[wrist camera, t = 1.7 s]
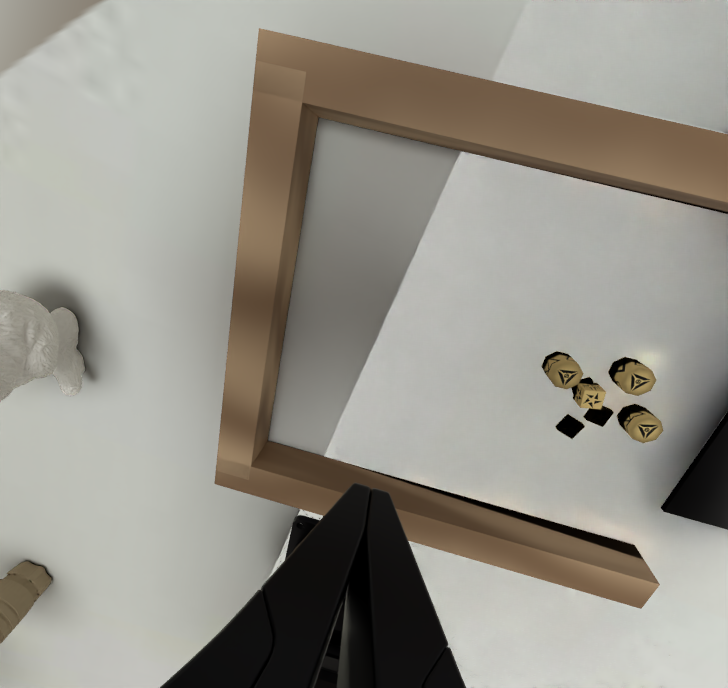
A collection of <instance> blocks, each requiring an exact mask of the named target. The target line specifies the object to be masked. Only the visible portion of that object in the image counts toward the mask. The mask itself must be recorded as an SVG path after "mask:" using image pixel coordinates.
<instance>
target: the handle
mask: <svg viewBox="0 0 728 688" xmlns="http://www.w3.org/2000/svg"><path fill="white" fill-rule="evenodd" d="M7 574H8V575H7V576H6V577H5V578H4V579H0V643H2V642H3V641H4V639H5V638H6V637H7V636H8V634H10V633H11V632H12V630H13V629H14V628H15V627H16V625H18V624H19V622H20V621H21V620H22V619H23V618H24V616H25V615H26V614H27V613H28V611H29V610H30V609H31V607H32V606H33V604H34V602H35V601H36V600H37V599H38V598H39V596H40V595H41V594H42V593H43V592H44V591H45V590H46V589H47V587H48V586H49V585H50V583H51V577H50V576H48V575H47V573H46V572H45V569H44V568H43V567H42V566H36V565H33V564H32V563H30V562H22V563H20V564H19V565H17V566H16V567H14V568H13V569H12V570H11V571H9V572H8V573H7Z"/></svg>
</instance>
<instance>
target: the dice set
mask: <svg viewBox="0 0 728 688" xmlns="http://www.w3.org/2000/svg"><path fill="white" fill-rule="evenodd" d="M542 368H543V370H544V372H545V373H546V375H547V377H548V378H549V379H550V380H551V382H552V383H553V384H554V386H555V387H559V388H564V389H569V388H572V392H573V399H574V400H575V402H576V403H577V404H578V405H579V407H580V408H589V409H588V411H587V412H586V413H585V415H584V416H583V417H584V418H585V419H586V420H587V421H590V422H592V423H595V424H597V425H599V426H602V427H603V426H604V425H605V424H606V422H607V421H608V420H609V418H610V417H611V416H612V414H613V413H614V412H613V411H612V410H611V409H609V408H607V407H605V406H602V404H603V401H604V397H605V394H606V391H605V390H604V389H603V388H602V387H601V386H600V385H599V384H598V383H593V380H592V379H591V378H590V377H587V378H584V379H581V378H582V376H583V372H582V370H581V368H580V366H579V364H578V363H577V362H576V361H575V360H574V359H573V358H572V357H571V356H570V355H569V354H566V353H562V352H558V351H556V352H554V353H552V354H550V355H548V356H546V357H545V359H544V362H543V364H542ZM608 373H609V375H610V377H611V379H612V381H613V382H614V383H615V384H616V385H617V386H618V387H620V388H621V389H622V390H623V391H624V392H625V393H628V394H632V395H636V396H639V395H641V394H644V393H646V392H649V391H651V389H652V387H653V385H654V384H655V382H656V378H655V376H654V374H653V372H652V370H650V369H649V368H648V367H646V366H645V365H643V364H642V363H640V362H639V361H638V360H636V359H632V358H627V357H623V358H621V359H619V360H617V361H614V362H613V363H612V365H611V367H610V369H609V371H608ZM617 418H618V422H619V425H620V426H621V427H622V428H623V429H624V430H625V431H626V432H627V433H628V434H629V436H630V437H631V438H632V439H634V440H637V441H639V442H642V443H645V442H649V441H653V440H656V439H657V438H658V437H659V435H660V434H661V433H662V432H663V428H662V424H661V421H660V420H659V419H658V418H657V417H655V416H654V415H653V414H652V413H651V412H650V411H649V410H647V409H646V408H645V407H642V406H640V405H637V404H632V405H629V406H625V407H623V408H622V409H621V411H620V412H619V413H618V415H617ZM555 427H556V429H557V430H558V431H560V432H561V433H563V434H565V435H566V436H568V437H570V438H571V439H573V438H574V437H575V436H576V435H577V434H578V433H579V432H580V431H581V430H582V429H583V428H584V427H585V426H584V425H583V423H582V422H580V421H578V420H577V419H575V418H574V417H572V416H570V415H569V414H567V415H566V416H565V417H564V418H563V419H562V420H561V421H560V422H559V423H558V424H557V425H556V426H555Z"/></svg>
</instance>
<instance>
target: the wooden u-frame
mask: <svg viewBox="0 0 728 688" xmlns="http://www.w3.org/2000/svg"><path fill="white" fill-rule="evenodd" d="M318 117H320V118H324V119H328V120H333V121H337V122H341V123H345V124H350V125H354V126H358V127H362V128H366V129H371V130H375V131H379V132H383V133H388V134H392V135H396V136H400V137H404V138H409V139H413V140H417V141H421V142H426V143H430V144H434V145H438V146H442V147H447V148H451V149H455V150H459V151H464V152H468V153H472V154H476V155H480V156H485V157H489V158H493V159H497V160H502V161H506V162H510V163H514V164H518V165H523V166H527V167H531V168H535V169H540V170H544V171H548V172H552V173H556V174H561V175H565V176H569V177H573V178H578V179H582V180H586V181H590V182H594V183H599V184H603V185H607V186H611V187H615V188H620V189H624V190H628V191H632V192H637V193H641V194H645V195H649V196H653V197H658V198H662V199H666V200H670V201H675V202H679V203H683V204H687V205H691V206H696V207H700V208H704V209H708V210H713V211H717V212H721V213H725V214H728V134H724V133H719V132H715V131H711V130H706V129H702V128H697V127H693V126H688V125H684V124H680V123H675V122H671V121H666V120H662V119H657V118H653V117H649V116H644V115H640V114H635V113H631V112H627V111H622V110H618V109H613V108H609V107H604V106H600V105H596V104H591V103H587V102H582V101H578V100H574V99H569V98H565V97H560V96H556V95H551V94H547V93H543V92H538V91H534V90H529V89H525V88H521V87H516V86H512V85H507V84H503V83H498V82H494V81H490V80H485V79H481V78H476V77H472V76H467V75H463V74H459V73H454V72H450V71H445V70H441V69H437V68H432V67H428V66H423V65H419V64H414V63H410V62H406V61H401V60H397V59H392V58H388V57H384V56H379V55H375V54H370V53H366V52H361V51H357V50H353V49H348V48H344V47H339V46H335V45H331V44H326V43H322V42H317V41H313V40H308V39H304V38H300V37H295V36H291V35H286V34H282V33H278V32H273V31H269V30H264V29H260V28H259V34H258V44H257V54H256V65H255V75H254V85H253V95H252V106H251V116H250V126H249V136H248V147H247V157H246V167H245V177H244V188H243V198H242V208H241V218H240V229H239V239H238V249H237V260H236V270H235V280H234V290H233V301H232V311H231V321H230V331H229V342H228V352H227V362H226V372H225V383H224V393H223V403H222V413H221V424H220V434H219V444H218V455H217V465H216V475H215V484H217V485H220V486H224V487H227V488H231V489H234V490H237V491H241V492H244V493H248V494H251V495H255V496H258V497H261V498H265V499H268V500H272V501H275V502H278V503H282V504H285V505H289V506H292V507H296V508H299V509H302V510H306V511H309V512H313V513H316V514H319V515H323V516H325V514H326V513H327V512H328V511H329V510H330V509H331V508H332V507H333V505H334V504H335V503H336V502H337V501H338V500H339V499H340V497H341V496H342V495H343V494H344V493H345V492H346V491H347V490H348V488H349V487H350V486H351V485H352V484H353V483H359V484H362V485H366V486H369V487H370V489H372V488H376V489H380V490H383V491H387V492H388V493H389V494H390V496H391V498H392V501H393V504H394V506H395V509H396V511H397V514H398V516H399V519H400V521H401V524H402V527H403V529H404V532H405V534H406V537H407V539H408V541H412V542H415V543H419V544H422V545H425V546H429V547H432V548H436V549H439V550H442V551H446V552H449V553H453V554H456V555H460V556H463V557H466V558H470V559H473V560H477V561H480V562H483V563H487V564H490V565H494V566H497V567H501V568H504V569H507V570H511V571H514V572H518V573H521V574H524V575H528V576H531V577H535V578H538V579H542V580H545V581H548V582H552V583H555V584H559V585H562V586H565V587H569V588H572V589H576V590H579V591H583V592H586V593H589V594H593V595H596V596H600V597H603V598H606V599H610V600H613V601H617V602H620V603H624V604H627V605H630V606H634V607H637V608H642V607H643V606H644V604H645V603H646V602H647V601H648V599H649V598H650V597H651V595H652V594H653V593H654V591H655V590H656V589H657V588H658V586H659V585H660V584H659V583H658V581H657V579H656V578H655V576H654V575H653V573H652V572H651V570H650V568H649V567H648V565H647V564H646V562H645V561H644V559H643V558H642V556H641V554H640V553H639V551H638V550H637V548H636V547H635V545H633V544H629V543H626V542H622V541H619V540H615V539H612V538H608V537H605V536H601V535H598V534H594V533H591V532H587V531H584V530H580V529H577V528H573V527H570V526H566V525H563V524H559V523H555V522H552V521H548V520H545V519H541V518H538V517H534V516H531V515H527V514H524V513H520V512H517V511H513V510H510V509H506V508H503V507H499V506H496V505H492V504H489V503H485V502H482V501H478V500H475V499H471V498H468V497H464V496H461V495H457V494H454V493H450V492H446V491H443V490H439V489H436V488H432V487H429V486H425V485H422V484H418V483H415V482H411V481H408V480H404V479H401V478H397V477H394V476H390V475H387V474H383V473H380V472H376V471H373V470H369V469H366V468H362V467H359V466H355V465H352V464H348V463H344V462H341V461H337V460H334V459H330V458H327V457H323V456H320V455H316V454H313V453H309V452H306V451H302V450H299V449H295V448H292V447H288V446H285V445H281V444H278V443H274V442H271V441H268V435H269V429H270V422H271V416H272V410H273V403H274V397H275V391H276V384H277V378H278V371H279V365H280V359H281V352H282V346H283V340H284V333H285V327H286V321H287V314H288V308H289V301H290V295H291V289H292V282H293V276H294V270H295V263H296V257H297V251H298V244H299V238H300V232H301V225H302V219H303V212H304V206H305V200H306V193H307V187H308V181H309V174H310V168H311V162H312V155H313V149H314V142H315V136H316V130H317V123H318Z"/></svg>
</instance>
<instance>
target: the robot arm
mask: <svg viewBox="0 0 728 688" xmlns="http://www.w3.org/2000/svg"><path fill="white" fill-rule="evenodd" d="M300 523H302V524H300ZM160 688H466V686H465V684H464V681H463V679H462V677H461V674H460V672H459V669H458V667H457V664H456V662H455V659H454V656H453V654H452V651H451V649H450V648H448V641H447V639H446V636H445V634H444V631H443V629H442V626H441V624H440V621H439V618H438V616H437V613H436V611H435V608H434V606H433V603H432V601H431V598H430V595H429V593H428V590H427V588H426V585H425V583H424V580H423V578H422V575H421V573H420V570H419V567H418V565H417V562H416V560H415V557H414V555H413V552H412V550H411V547H410V544H409V542H408V539H407V537H406V534H405V532H404V529H403V527H402V524H401V521H400V519H399V516H398V514H397V511H396V509H395V506H394V504H393V501H392V498H391V496H390V494H389V493H388V492H387V491H383V490H380V489H376V488H372V489H370V487H369V486H366V485H362V484H359V483H353V484H352V485H351V486H350V487H349V488H348V490H347V491H346V492H345V493H344V494H343V495H342V496H341V497H340V499H339V500H338V501H337V502H336V503H335V504H334V505H333V507H332V508H331V509H330V510H329V511H328V512H327V513H326V514H325V516H324V517H323V518H322V519H321V520H316V519H313V518H309V517H306V516H302V515H299V516H296V517H295V519H294V522H293V525H292V530H291V534H290V539H289V544H288V549H287V553H286V558H285V561H284V562H283V563H282V564H281V565H280V567H279V568H278V569H277V570H276V571H275V572H274V573H273V575H272V576H271V577H270V578H269V579H268V580H267V581H266V582H265V584H264V585H263V586H262V587H261V590H258V591H257V592H256V593H255V595H254V596H253V597H252V598H251V599H250V600H249V601H248V603H247V604H246V605H245V606H244V607H243V608H242V609H241V610H240V611H239V612H238V613H237V614H236V616H235V617H234V618H233V619H232V620H231V621H230V622H229V623H228V624H227V625H226V626H225V627H224V628H223V629H222V630H221V631H220V632H219V633H218V634H217V635H216V636H215V637H214V638H213V639H212V640H211V641H210V642H209V643H208V644H207V645H206V646H205V647H204V648H203V649H202V650H201V651H199V652H198V653H197V654H196V655H195V656H194V657H193V658H192V659H191V660H190V661H189V662H188V663H187V664H185V665H184V666H183V667H182V668H181V669H180V670H179V671H178V672H177V673H176V674H174V675H173V676H172V677H171V678H170V679H169V680H168V681H167V682H166V683H165V684H163V685H162V686H161V687H160Z"/></svg>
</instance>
